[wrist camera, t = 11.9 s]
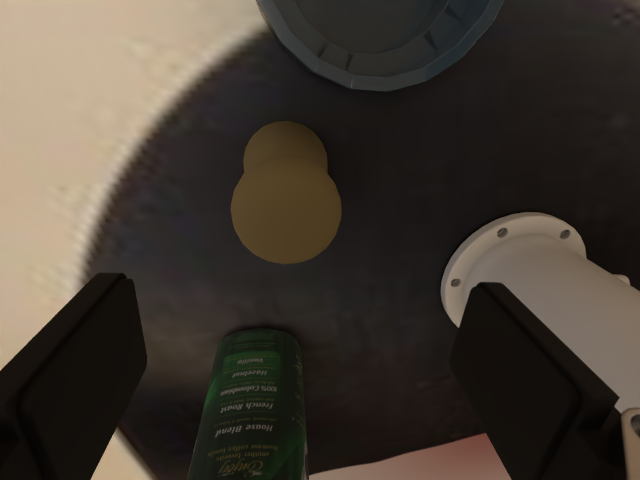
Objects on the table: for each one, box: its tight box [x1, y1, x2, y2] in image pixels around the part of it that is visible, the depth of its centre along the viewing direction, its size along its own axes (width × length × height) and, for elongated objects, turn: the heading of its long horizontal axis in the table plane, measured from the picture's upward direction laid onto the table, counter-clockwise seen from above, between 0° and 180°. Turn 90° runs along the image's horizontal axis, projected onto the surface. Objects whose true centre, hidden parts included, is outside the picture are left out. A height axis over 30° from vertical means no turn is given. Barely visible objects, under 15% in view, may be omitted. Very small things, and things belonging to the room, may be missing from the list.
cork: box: [231, 121, 341, 264], centre depth 20 cm, size 6×6×11 cm
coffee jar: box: [187, 328, 309, 480], centre depth 24 cm, size 10×8×19 cm
